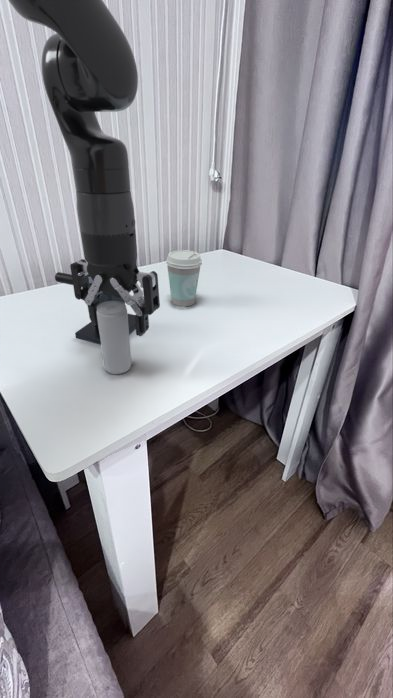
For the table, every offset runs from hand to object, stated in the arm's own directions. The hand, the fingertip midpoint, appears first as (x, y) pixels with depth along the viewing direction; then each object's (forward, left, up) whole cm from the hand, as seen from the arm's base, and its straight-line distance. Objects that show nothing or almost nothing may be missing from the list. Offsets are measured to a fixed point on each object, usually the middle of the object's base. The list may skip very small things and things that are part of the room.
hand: (119, 328), depth 55 cm
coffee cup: (+25, +17, -8) cm, 32 cm away
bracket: (+4, +14, -8) cm, 17 cm away
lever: (0, +11, +3) cm, 12 cm away
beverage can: (-1, +1, -8) cm, 8 cm away
